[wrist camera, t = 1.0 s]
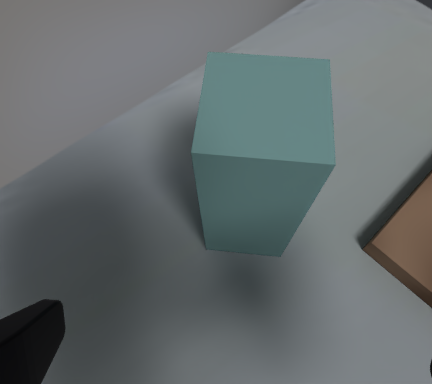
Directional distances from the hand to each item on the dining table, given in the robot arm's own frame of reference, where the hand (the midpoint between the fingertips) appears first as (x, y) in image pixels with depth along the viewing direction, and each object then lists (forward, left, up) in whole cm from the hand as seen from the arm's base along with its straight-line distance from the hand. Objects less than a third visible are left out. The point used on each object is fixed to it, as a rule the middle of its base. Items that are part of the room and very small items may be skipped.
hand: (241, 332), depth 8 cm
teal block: (+5, -7, -13) cm, 16 cm away
